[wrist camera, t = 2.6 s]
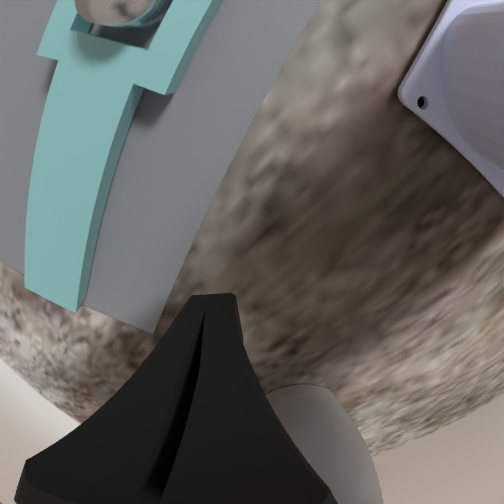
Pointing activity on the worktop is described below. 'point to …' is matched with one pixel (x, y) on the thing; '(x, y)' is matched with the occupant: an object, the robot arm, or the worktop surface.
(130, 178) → the board
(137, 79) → the link
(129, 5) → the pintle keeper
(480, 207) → the worktop surface
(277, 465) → the robot arm
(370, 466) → the mug
